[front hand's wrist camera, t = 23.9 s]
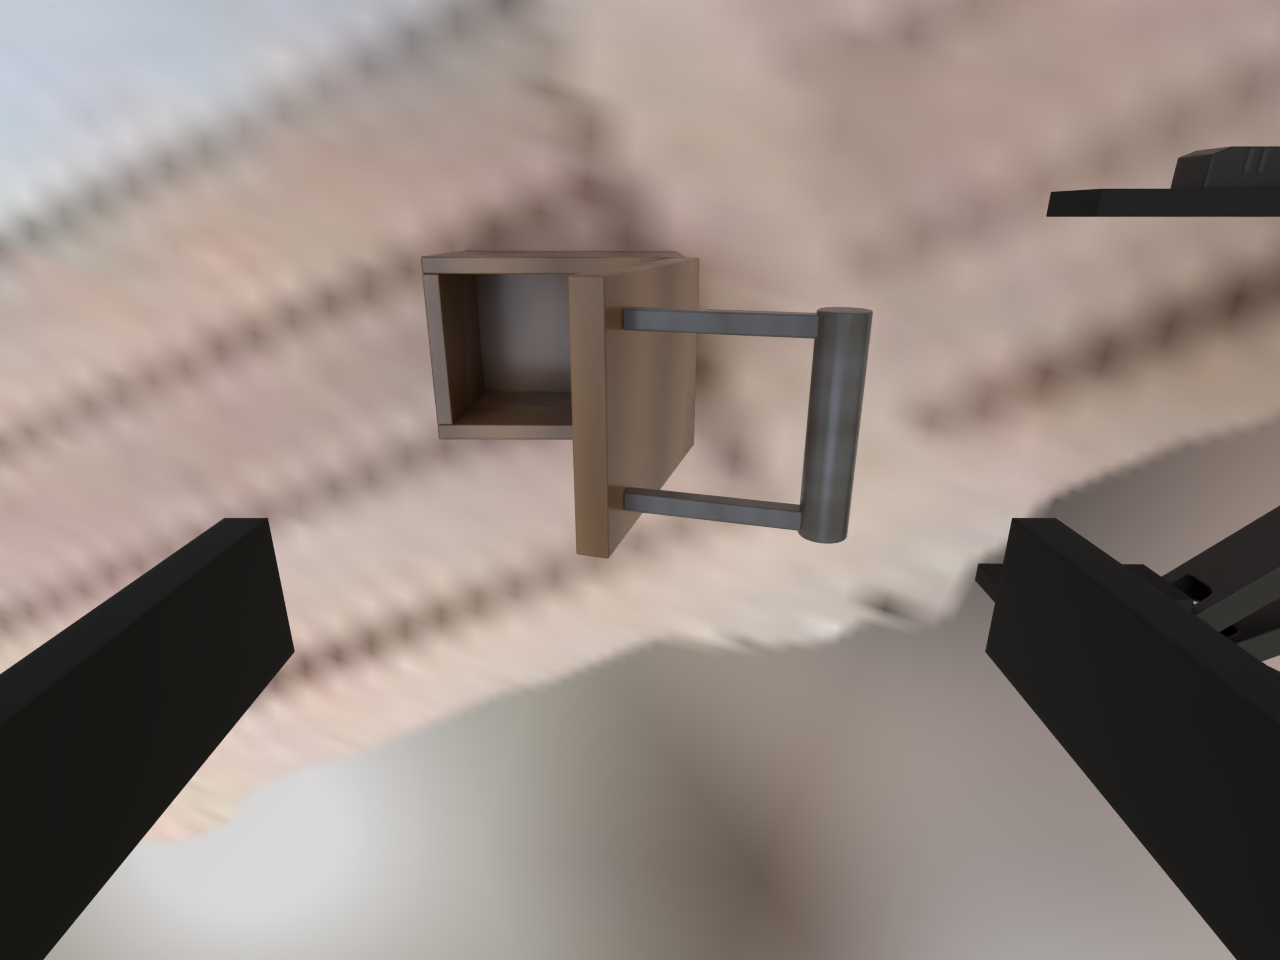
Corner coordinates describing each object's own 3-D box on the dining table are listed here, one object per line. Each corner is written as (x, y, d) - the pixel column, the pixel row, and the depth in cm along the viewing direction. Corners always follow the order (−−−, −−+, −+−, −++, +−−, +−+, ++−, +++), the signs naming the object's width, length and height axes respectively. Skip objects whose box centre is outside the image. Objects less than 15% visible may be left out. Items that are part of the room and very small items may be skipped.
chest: (475, 401, 45) (438, 439, 37) (463, 250, 42) (420, 256, 34) (674, 401, 45) (682, 440, 37) (677, 251, 42) (686, 257, 34)
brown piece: (576, 554, 24) (842, 591, 22) (566, 275, 21) (878, 281, 18) (671, 442, 37) (847, 457, 34) (675, 257, 33) (869, 260, 31)
